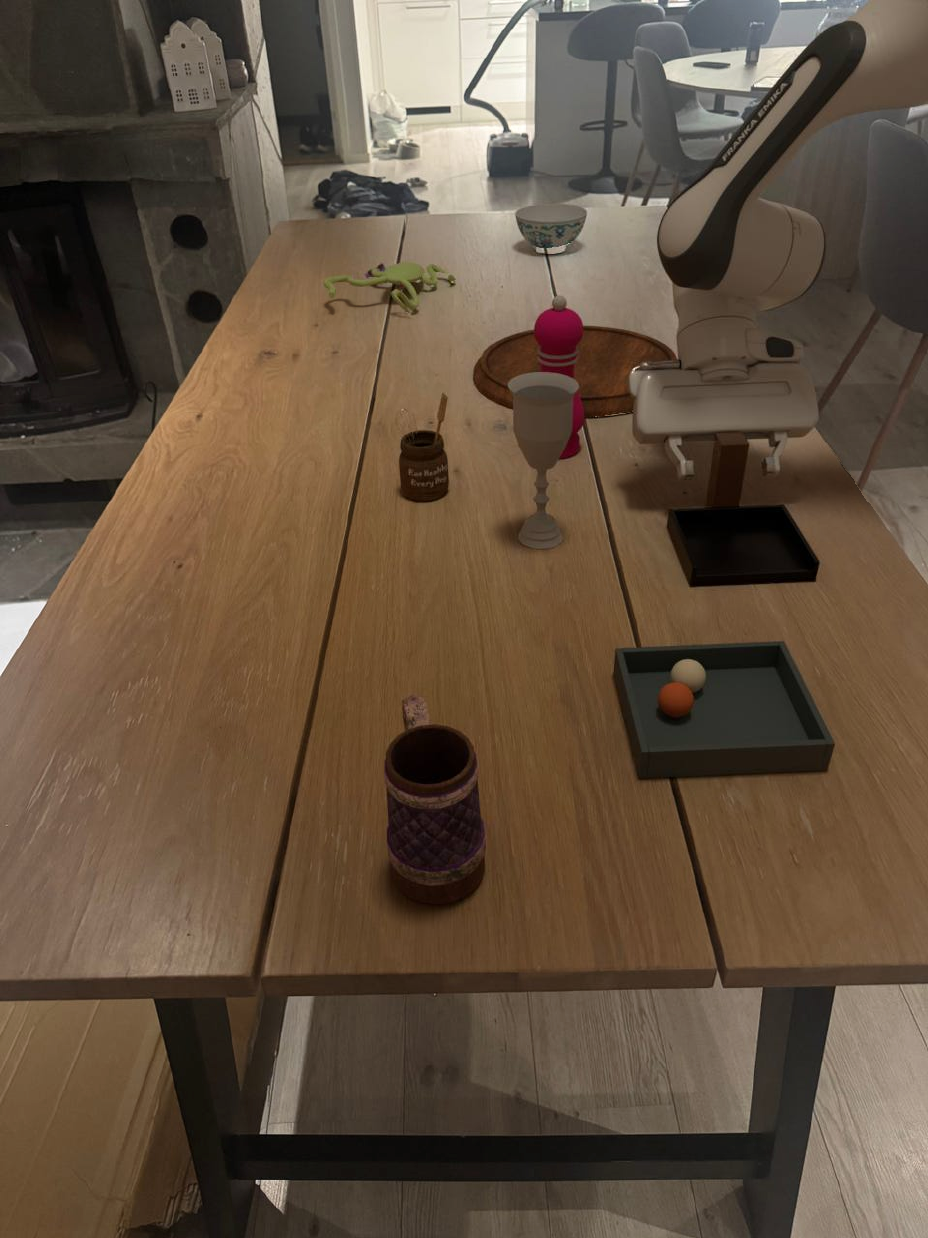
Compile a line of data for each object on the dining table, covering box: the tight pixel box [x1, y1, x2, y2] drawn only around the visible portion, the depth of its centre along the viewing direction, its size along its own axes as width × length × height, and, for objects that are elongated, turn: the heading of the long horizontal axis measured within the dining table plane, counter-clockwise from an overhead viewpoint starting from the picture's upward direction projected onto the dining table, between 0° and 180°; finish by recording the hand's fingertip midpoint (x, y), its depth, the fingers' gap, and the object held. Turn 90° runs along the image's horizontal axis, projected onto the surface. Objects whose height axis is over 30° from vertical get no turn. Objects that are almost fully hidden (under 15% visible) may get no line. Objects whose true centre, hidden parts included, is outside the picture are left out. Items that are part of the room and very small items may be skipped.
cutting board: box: [472, 325, 678, 419], centre depth 142 cm, size 32×32×2 cm
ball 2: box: [658, 682, 694, 718], centre depth 79 cm, size 3×3×3 cm
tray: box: [612, 640, 836, 780], centre depth 79 cm, size 15×13×3 cm
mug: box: [383, 694, 487, 905], centre depth 66 cm, size 10×7×12 cm
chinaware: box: [514, 203, 588, 248], centre depth 196 cm, size 15×15×8 cm
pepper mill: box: [533, 294, 585, 460], centre depth 116 cm, size 7×7×20 cm
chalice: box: [508, 372, 579, 550], centre depth 99 cm, size 7×7×18 cm
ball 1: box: [671, 659, 706, 693], centre depth 81 cm, size 3×3×3 cm
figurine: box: [322, 262, 457, 314], centre depth 175 cm, size 18×27×6 cm
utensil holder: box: [394, 391, 450, 502], centre depth 111 cm, size 6×6×12 cm
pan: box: [666, 432, 821, 588], centre depth 99 cm, size 13×15×10 cm
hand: (728, 476), depth 103 cm, fingers open, 8 cm apart
